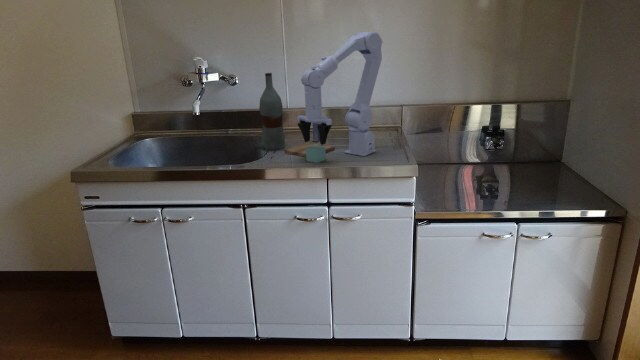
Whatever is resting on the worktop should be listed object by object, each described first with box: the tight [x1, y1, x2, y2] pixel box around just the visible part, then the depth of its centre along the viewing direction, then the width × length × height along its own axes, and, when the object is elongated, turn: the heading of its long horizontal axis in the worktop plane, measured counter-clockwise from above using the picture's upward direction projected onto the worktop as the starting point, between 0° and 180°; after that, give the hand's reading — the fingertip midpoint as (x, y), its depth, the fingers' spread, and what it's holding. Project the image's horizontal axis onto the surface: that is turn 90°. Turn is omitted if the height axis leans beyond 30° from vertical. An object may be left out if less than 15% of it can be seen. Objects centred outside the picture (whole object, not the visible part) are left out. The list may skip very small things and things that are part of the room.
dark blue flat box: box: [311, 123, 321, 143], centre depth 190 cm, size 9×3×11 cm, turn 146°
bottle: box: [259, 72, 286, 151], centre depth 177 cm, size 9×9×30 cm
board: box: [284, 142, 336, 158], centre depth 173 cm, size 14×14×1 cm
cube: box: [305, 145, 327, 164], centre depth 161 cm, size 5×5×5 cm
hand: (315, 142), depth 160 cm, fingers open, 7 cm apart
